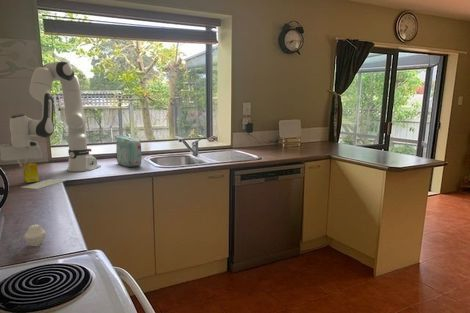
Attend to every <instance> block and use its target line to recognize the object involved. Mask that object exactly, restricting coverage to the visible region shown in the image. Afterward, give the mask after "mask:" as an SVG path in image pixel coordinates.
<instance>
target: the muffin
mask: <svg viewBox="0 0 470 313" xmlns="http://www.w3.org/2000/svg"><path fill="white" fill-rule="evenodd" d="M46 235H47V232H46V230H44V229H43V228H42V226H41V225H40V224H32V225H30V226H29V227H28V230H27V231H26V233H25V234H24V240H25V242H27V243H28V245H29V246H31V247H32V246H36V247H38V246H37V245H39V246H41V245H42V244H43V242H44V241H45V238H46ZM40 244H41V245H40Z"/></svg>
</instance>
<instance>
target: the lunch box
mask: <svg viewBox="0 0 470 313" xmlns="http://www.w3.org/2000/svg"><path fill="white" fill-rule="evenodd" d="M115 145H116V147H115V148H116V153H115V159H116V162H117V164H119V165H121V166H123V167H126V168H127V167H128V168H133V167H134V168H135V167H140V166H141V165H142V143H141V140H139V139H137V138H134V137H130V136H129V135H124V136H118V138H117V139H116V144H115Z"/></svg>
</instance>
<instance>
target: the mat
mask: <svg viewBox="0 0 470 313" xmlns="http://www.w3.org/2000/svg"><path fill="white" fill-rule="evenodd" d="M63 182H66V180H64V179H56V178H55V179H54V178H49V179H46V180H45V179H44V180H41V181H39V182H38V183H31V184H27V185H24V186H20V188H21V189H28V190H29V189H31V190H39V189H42V188H46V187H49V186H53V185H57V184H60V183H63Z"/></svg>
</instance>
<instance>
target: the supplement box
mask: <svg viewBox="0 0 470 313" xmlns="http://www.w3.org/2000/svg"><path fill="white" fill-rule="evenodd" d="M24 163H25V162H24ZM24 163H22V164H23V167H22V170H23V179H24V180H23V181H24V184H27V185H30V184H34V183H38V182H40V181H39V172H38V171H39V170H38V164H37V163H35V162H27V163H25V164H24Z"/></svg>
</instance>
